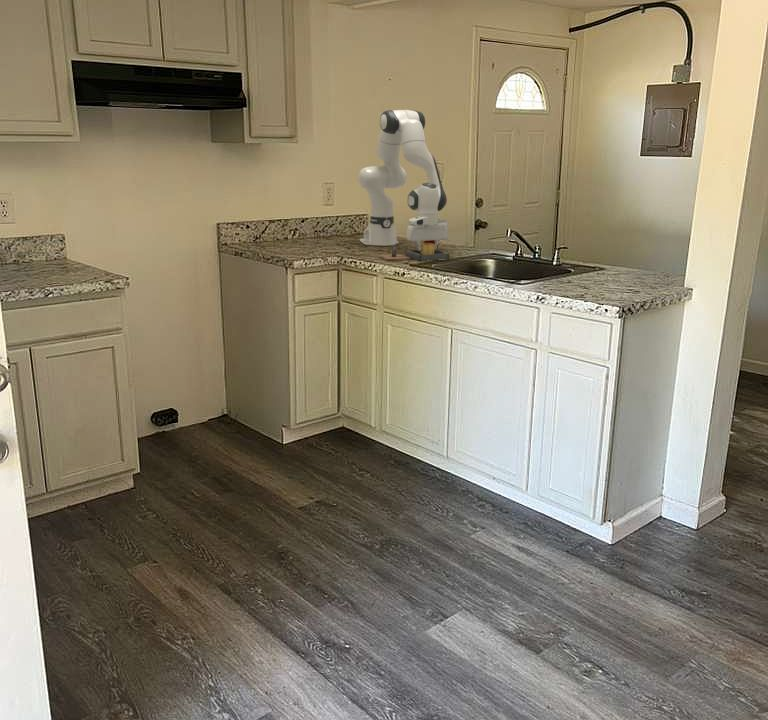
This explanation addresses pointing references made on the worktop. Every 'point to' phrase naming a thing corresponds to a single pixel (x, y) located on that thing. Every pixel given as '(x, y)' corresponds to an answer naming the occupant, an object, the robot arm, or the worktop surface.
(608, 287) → the worktop surface
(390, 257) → the wooden peg stand
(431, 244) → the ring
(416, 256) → the tray
